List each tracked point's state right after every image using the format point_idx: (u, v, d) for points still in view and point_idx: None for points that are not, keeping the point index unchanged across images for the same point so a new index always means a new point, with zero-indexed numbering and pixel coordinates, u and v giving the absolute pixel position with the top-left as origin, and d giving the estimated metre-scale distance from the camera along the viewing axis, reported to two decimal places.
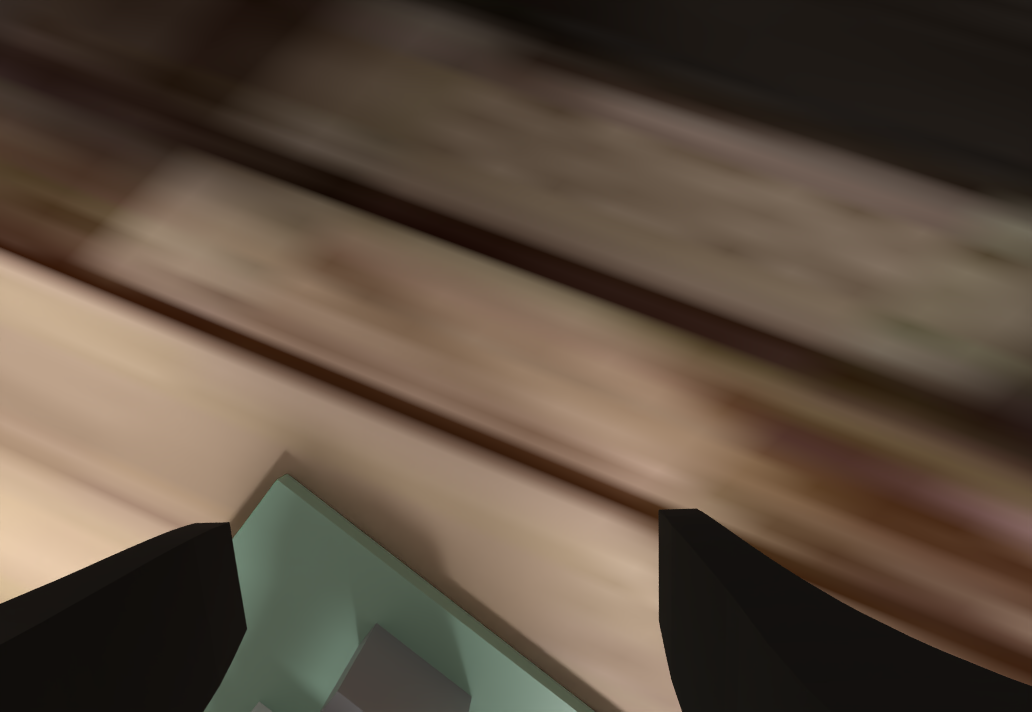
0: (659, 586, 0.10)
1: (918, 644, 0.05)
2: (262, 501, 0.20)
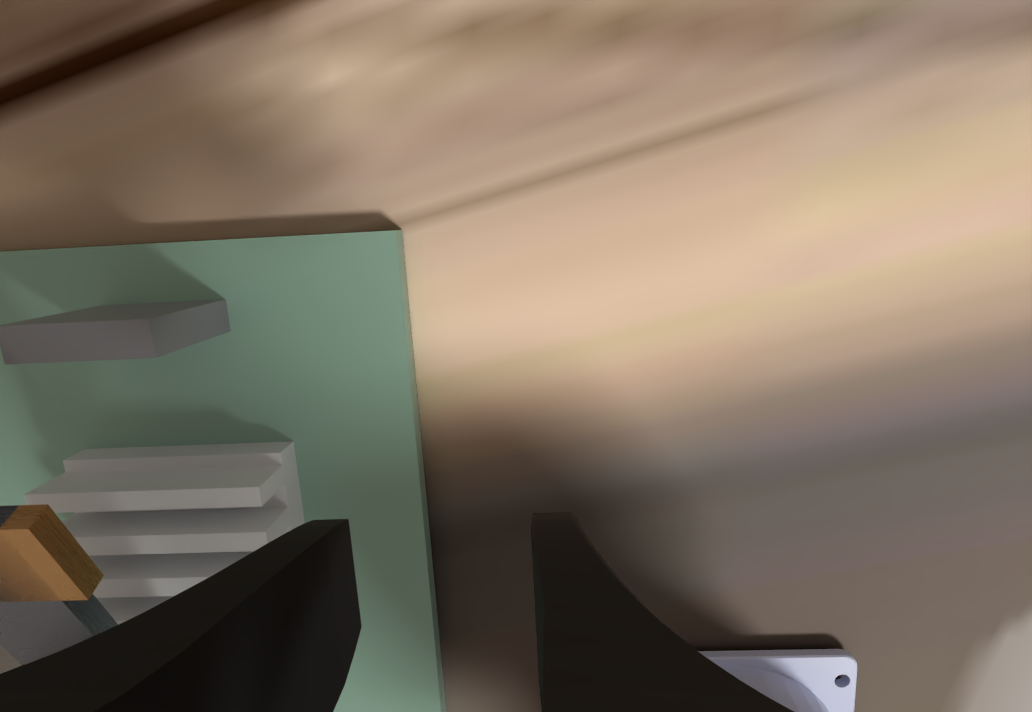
0: None
1: (684, 648, 0.05)
2: None
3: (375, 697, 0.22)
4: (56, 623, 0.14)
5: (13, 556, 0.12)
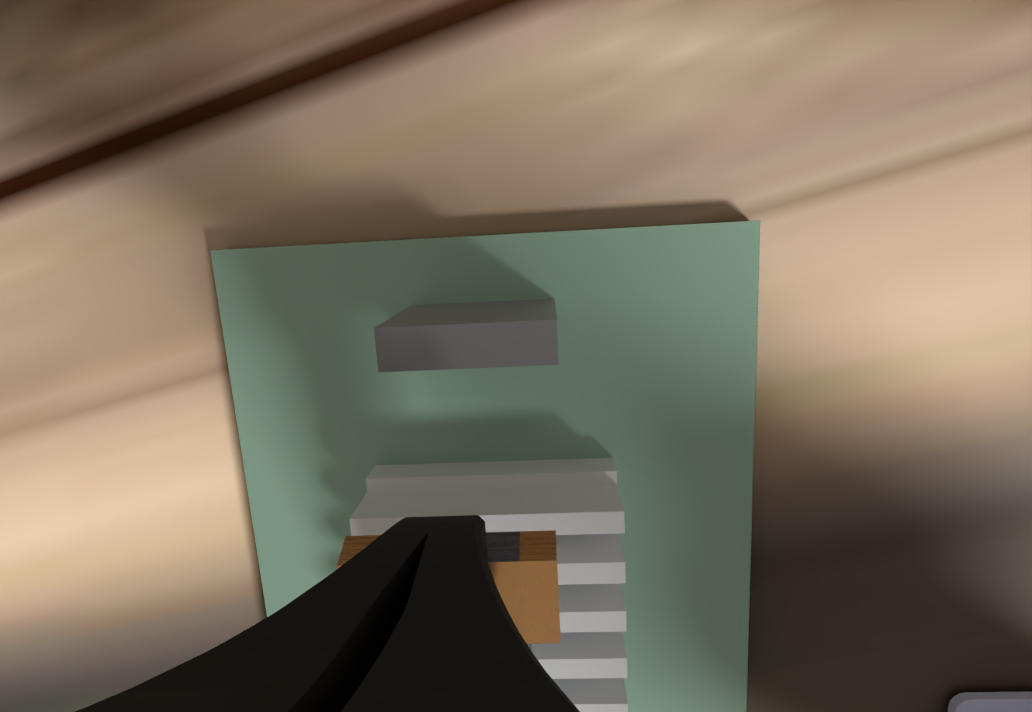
0: None
1: (516, 651, 0.05)
2: (217, 283, 0.17)
3: None
4: None
5: (512, 592, 0.10)
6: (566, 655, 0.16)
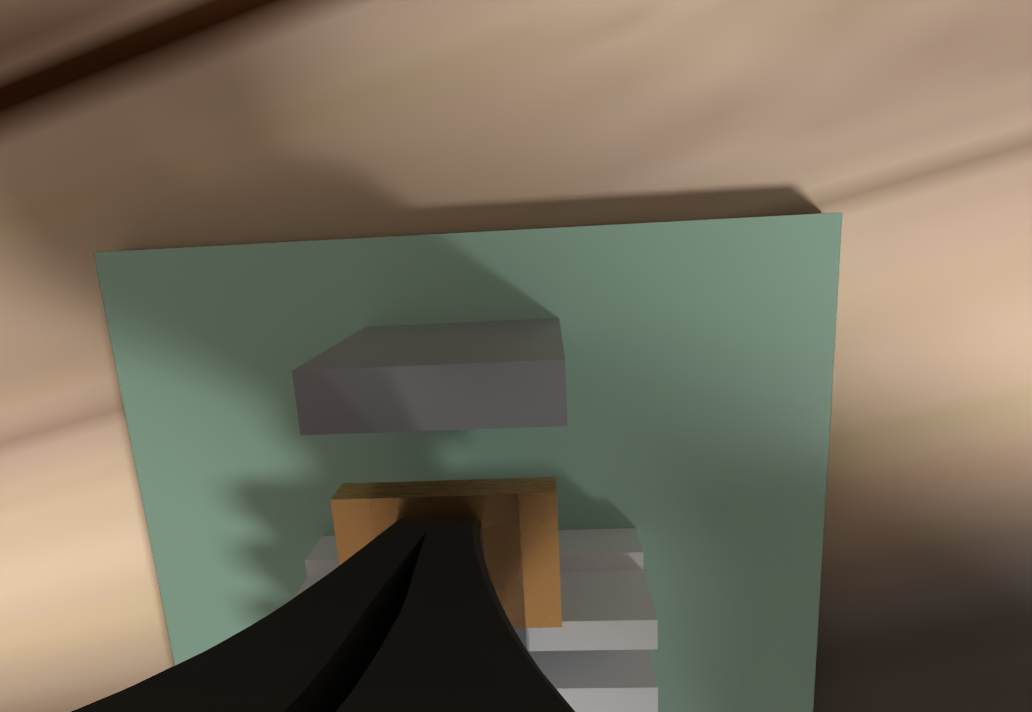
0: None
1: (512, 651, 0.05)
2: (105, 296, 0.13)
3: None
4: None
5: (509, 542, 0.10)
6: None
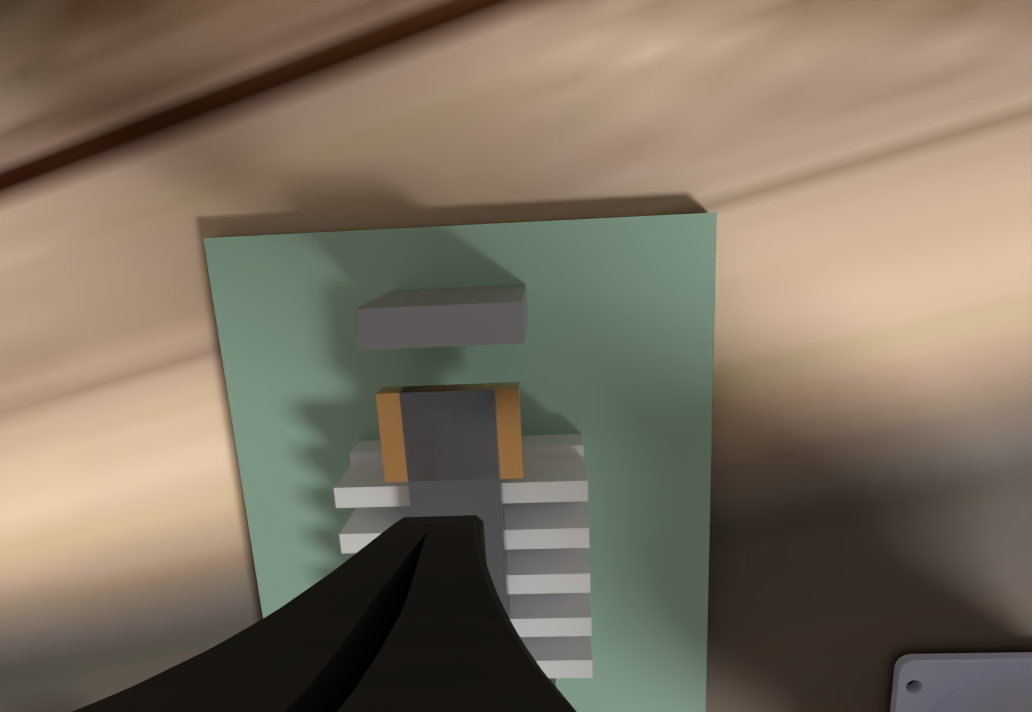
0: None
1: (514, 651, 0.05)
2: (210, 269, 0.18)
3: (637, 700, 0.21)
4: (479, 510, 0.16)
5: (489, 421, 0.15)
6: (535, 615, 0.18)
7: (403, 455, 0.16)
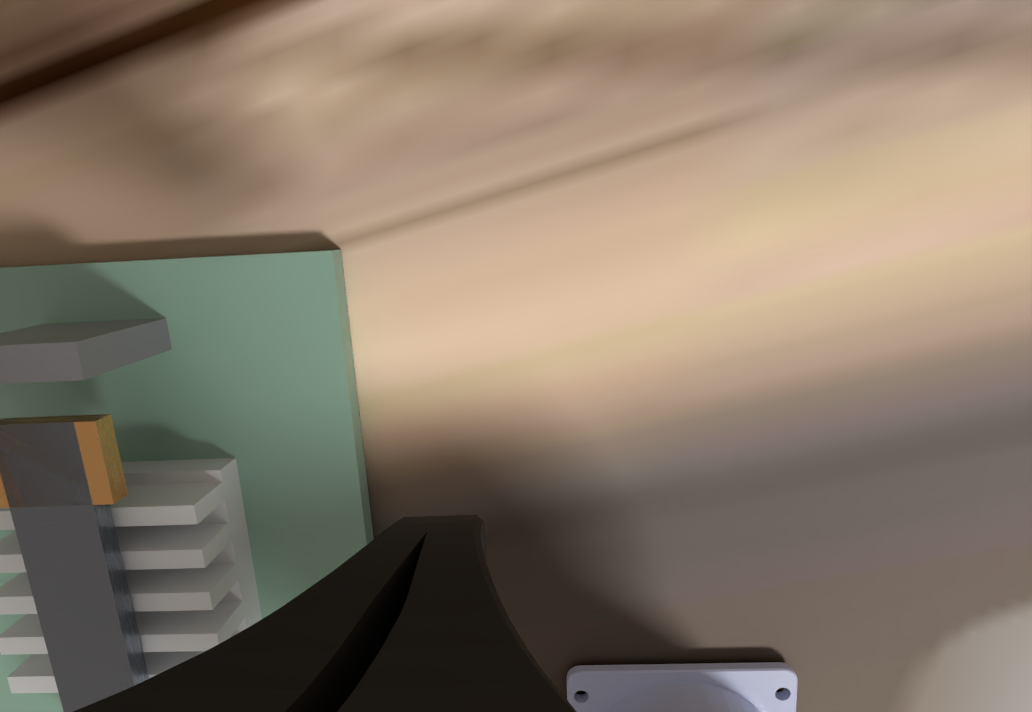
0: None
1: (514, 651, 0.05)
2: None
3: None
4: (79, 534, 0.17)
5: (73, 451, 0.16)
6: (168, 631, 0.19)
7: (0, 483, 0.17)
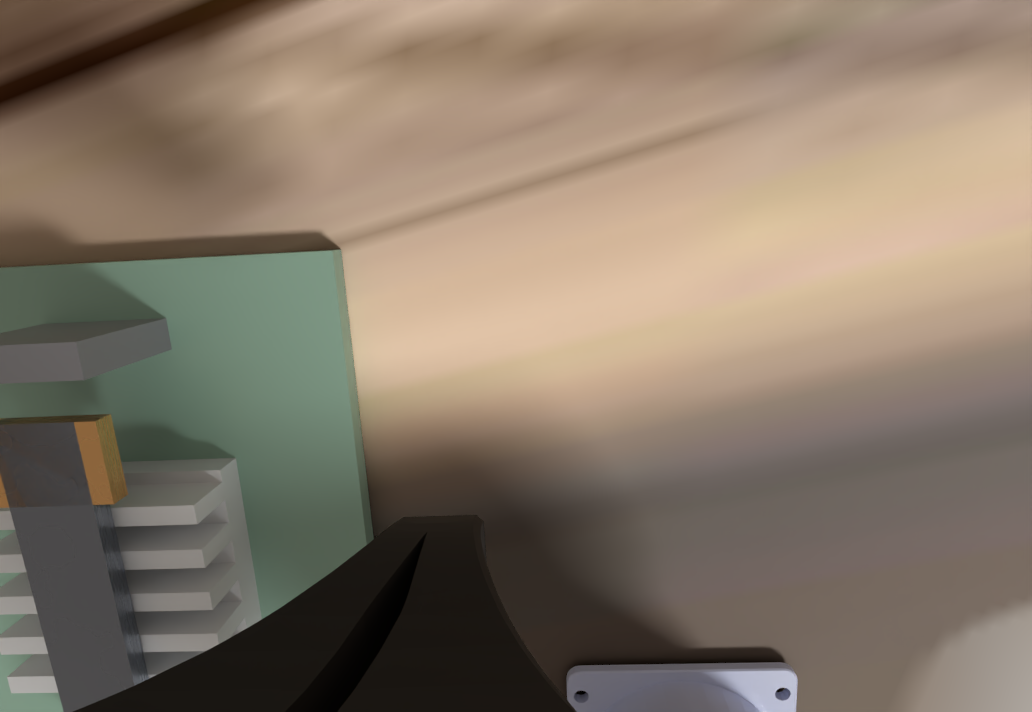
0: None
1: (514, 651, 0.05)
2: None
3: None
4: (79, 534, 0.17)
5: (73, 451, 0.16)
6: (168, 631, 0.19)
7: (0, 483, 0.17)
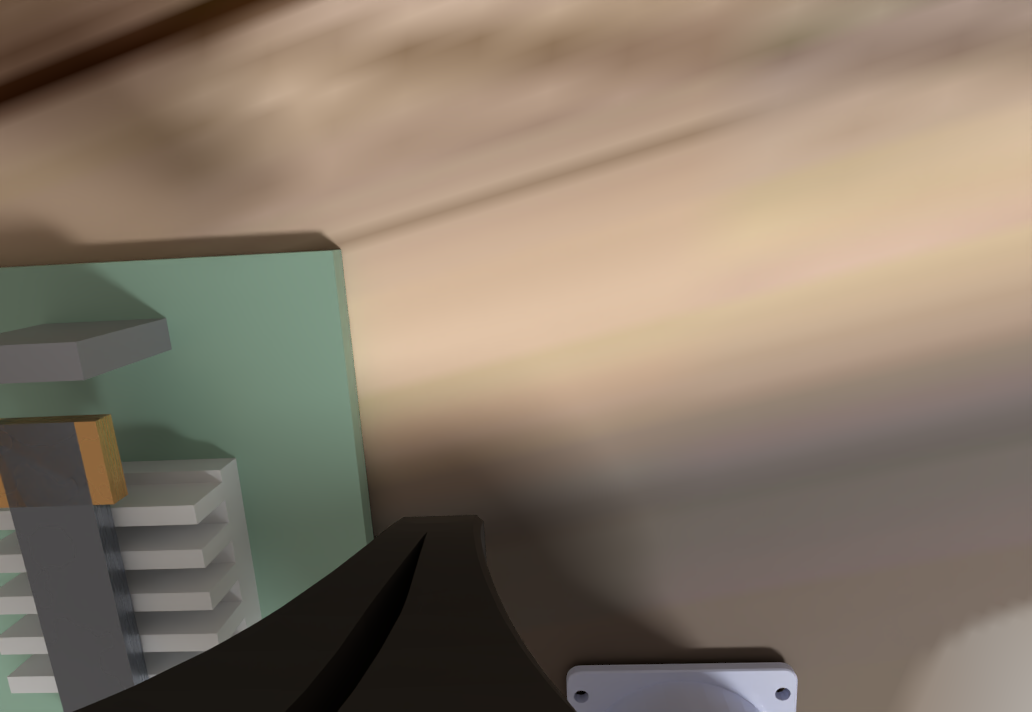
0: None
1: (514, 651, 0.05)
2: None
3: None
4: (79, 534, 0.17)
5: (73, 451, 0.16)
6: (168, 631, 0.19)
7: (0, 483, 0.17)
